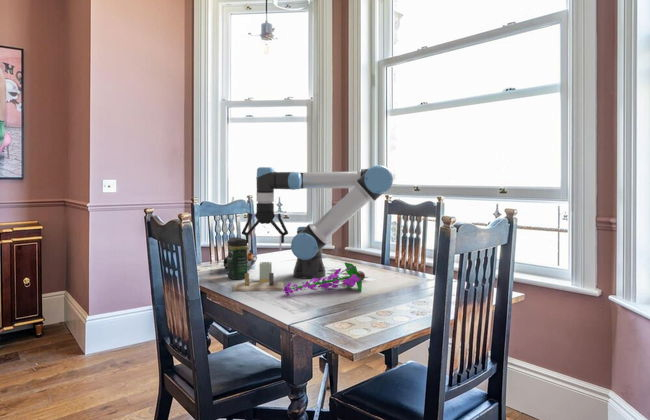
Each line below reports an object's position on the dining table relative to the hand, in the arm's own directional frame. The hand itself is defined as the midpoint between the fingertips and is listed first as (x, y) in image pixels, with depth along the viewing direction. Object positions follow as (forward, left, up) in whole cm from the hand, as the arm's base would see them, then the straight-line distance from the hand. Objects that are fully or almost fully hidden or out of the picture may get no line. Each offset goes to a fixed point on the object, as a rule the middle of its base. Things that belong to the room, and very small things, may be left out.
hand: (265, 250), depth 187 cm
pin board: (+2, +12, -14) cm, 18 cm away
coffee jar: (+13, -7, -14) cm, 20 cm away
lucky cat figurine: (+13, -23, -14) cm, 30 cm away
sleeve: (0, 0, -14) cm, 14 cm away
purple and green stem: (-26, +21, -14) cm, 36 cm away
